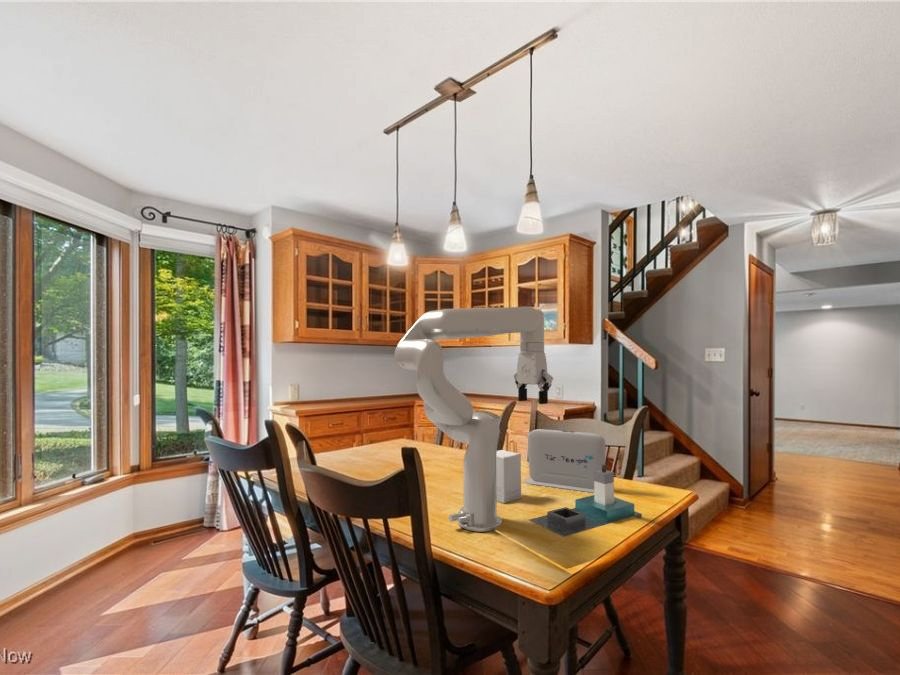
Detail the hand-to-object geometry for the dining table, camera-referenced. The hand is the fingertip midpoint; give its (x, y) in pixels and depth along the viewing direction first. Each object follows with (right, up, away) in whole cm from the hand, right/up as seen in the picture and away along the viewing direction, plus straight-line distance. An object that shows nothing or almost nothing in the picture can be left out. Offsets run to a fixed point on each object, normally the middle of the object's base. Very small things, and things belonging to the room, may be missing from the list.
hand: (532, 402), depth 145 cm
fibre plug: (+20, -32, -7) cm, 39 cm away
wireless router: (+16, -34, +23) cm, 44 cm away
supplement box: (-8, -34, +9) cm, 36 cm away
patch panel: (+13, -33, -12) cm, 37 cm away
